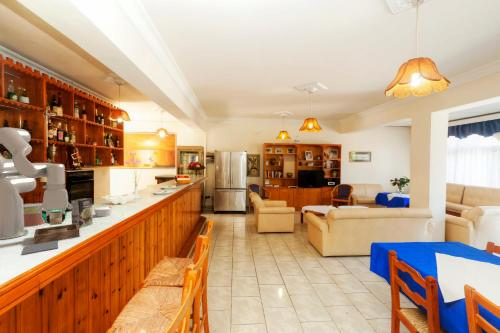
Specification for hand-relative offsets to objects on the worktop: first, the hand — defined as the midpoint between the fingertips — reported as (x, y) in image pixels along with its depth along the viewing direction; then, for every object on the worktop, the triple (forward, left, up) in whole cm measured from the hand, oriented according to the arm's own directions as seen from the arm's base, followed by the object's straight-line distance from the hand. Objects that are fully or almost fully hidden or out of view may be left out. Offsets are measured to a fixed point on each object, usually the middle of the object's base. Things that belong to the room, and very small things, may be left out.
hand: (55, 221), depth 130 cm
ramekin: (+27, +39, -8) cm, 47 cm away
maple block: (0, 0, -1) cm, 1 cm away
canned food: (-10, +39, -8) cm, 41 cm away
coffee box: (+13, +17, -8) cm, 22 cm away
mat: (-5, -15, -8) cm, 18 cm away
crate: (+1, 0, -8) cm, 8 cm away
